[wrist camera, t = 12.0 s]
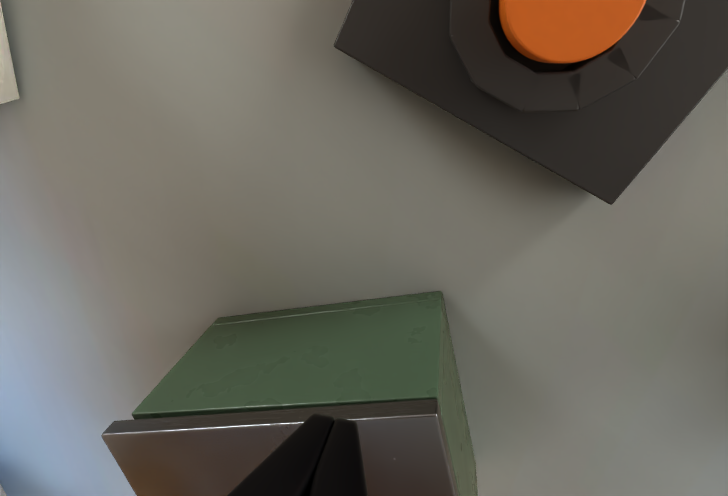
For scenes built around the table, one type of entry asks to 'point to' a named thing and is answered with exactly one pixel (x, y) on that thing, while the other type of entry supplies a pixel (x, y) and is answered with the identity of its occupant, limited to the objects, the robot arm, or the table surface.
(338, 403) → the dark green boxy piece
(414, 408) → the grey flat plate
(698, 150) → the table surface
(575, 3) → the button
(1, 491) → the ramen bowl
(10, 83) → the packaged product
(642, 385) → the table surface
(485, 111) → the pad
